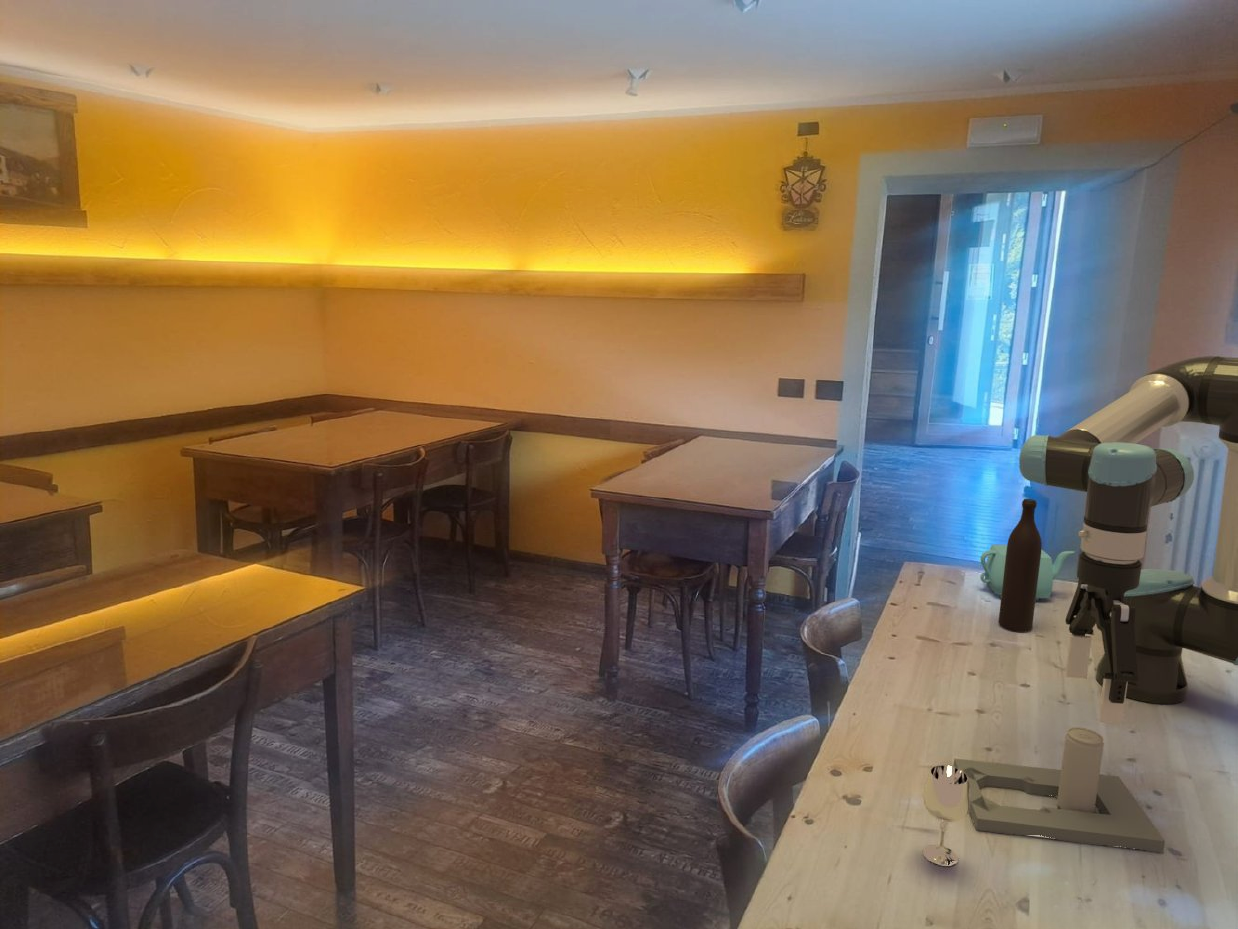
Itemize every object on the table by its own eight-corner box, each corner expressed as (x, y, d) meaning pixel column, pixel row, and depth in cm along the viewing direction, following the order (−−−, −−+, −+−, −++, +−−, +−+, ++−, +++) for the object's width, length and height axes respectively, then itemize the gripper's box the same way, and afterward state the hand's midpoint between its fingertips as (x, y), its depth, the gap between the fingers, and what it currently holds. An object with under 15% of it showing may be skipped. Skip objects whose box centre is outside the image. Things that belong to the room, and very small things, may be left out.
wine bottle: (1033, 625, 194) (1049, 499, 188) (1029, 635, 188) (1045, 505, 182) (1000, 619, 198) (1014, 494, 192) (995, 628, 192) (1010, 500, 186)
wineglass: (910, 843, 115) (918, 763, 113) (951, 841, 116) (959, 762, 113) (929, 871, 110) (937, 788, 107) (971, 869, 110) (981, 786, 108)
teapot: (1023, 610, 204) (1030, 556, 201) (966, 589, 218) (972, 539, 215) (1069, 598, 213) (1076, 547, 210) (1012, 579, 227) (1017, 530, 224)
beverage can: (1098, 822, 121) (1109, 745, 118) (1062, 817, 122) (1072, 741, 119) (1087, 803, 125) (1097, 729, 123) (1052, 798, 126) (1062, 725, 124)
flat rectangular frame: (1117, 787, 129) (1118, 776, 129) (1163, 853, 114) (1164, 841, 114) (953, 768, 134) (954, 758, 133) (976, 830, 118) (977, 818, 118)
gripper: (1052, 529, 128) (1037, 658, 133) (1115, 584, 104) (1095, 740, 109) (1106, 532, 127) (1089, 662, 131) (1182, 588, 103) (1158, 746, 107)
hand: (1091, 698), depth 120 cm, fingers open, 13 cm apart
